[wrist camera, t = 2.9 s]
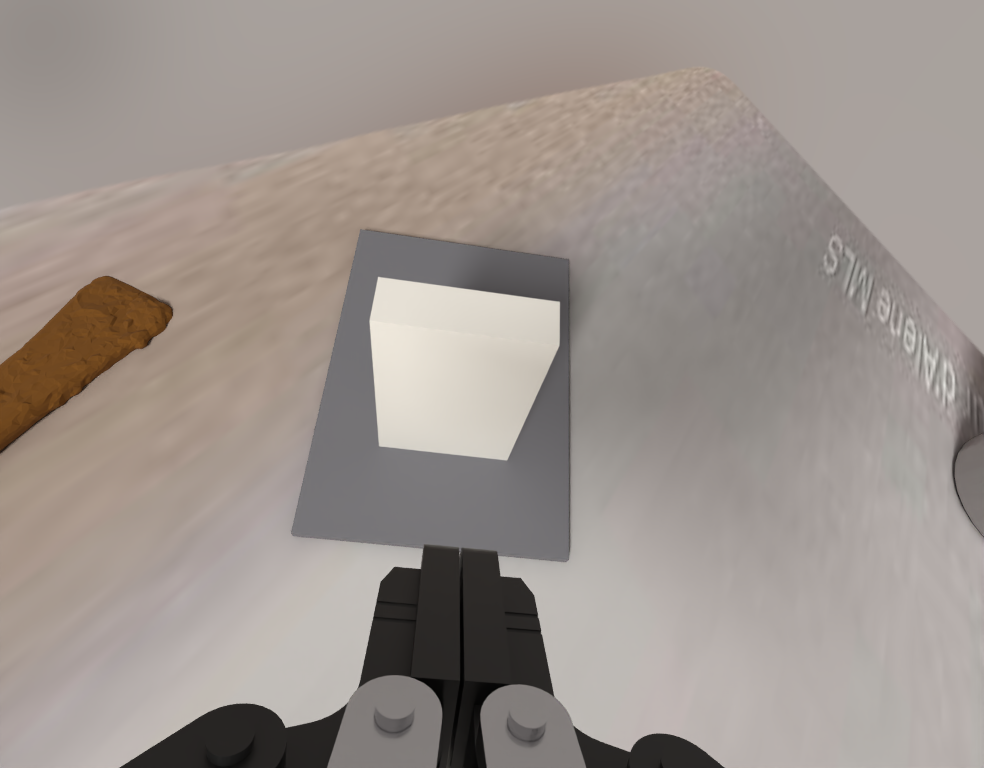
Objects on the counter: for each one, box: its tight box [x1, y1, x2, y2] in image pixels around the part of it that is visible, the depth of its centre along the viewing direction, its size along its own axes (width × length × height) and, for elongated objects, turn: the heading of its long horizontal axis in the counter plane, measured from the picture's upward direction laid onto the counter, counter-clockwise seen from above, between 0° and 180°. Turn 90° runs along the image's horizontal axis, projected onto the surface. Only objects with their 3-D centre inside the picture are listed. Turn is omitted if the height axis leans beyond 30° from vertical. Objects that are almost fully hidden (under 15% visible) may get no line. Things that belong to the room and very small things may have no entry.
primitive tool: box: [0, 276, 173, 451], centre depth 29 cm, size 19×6×4 cm, turn 156°
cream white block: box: [370, 277, 560, 460], centre depth 27 cm, size 2×7×12 cm, turn 86°
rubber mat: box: [291, 229, 569, 562], centre depth 34 cm, size 20×14×1 cm
